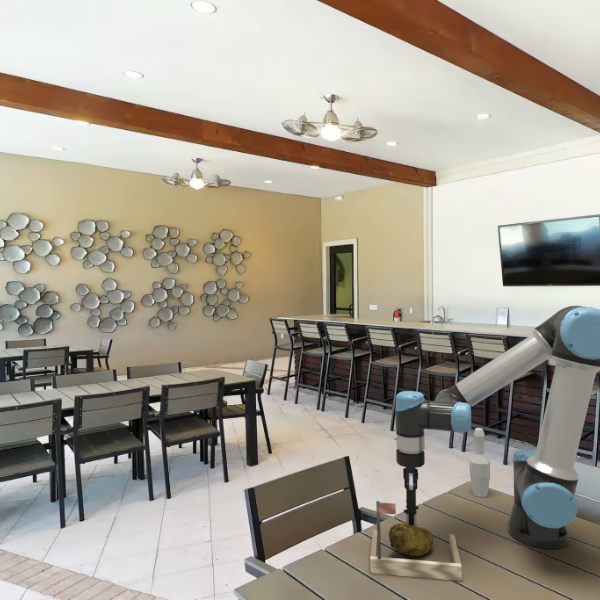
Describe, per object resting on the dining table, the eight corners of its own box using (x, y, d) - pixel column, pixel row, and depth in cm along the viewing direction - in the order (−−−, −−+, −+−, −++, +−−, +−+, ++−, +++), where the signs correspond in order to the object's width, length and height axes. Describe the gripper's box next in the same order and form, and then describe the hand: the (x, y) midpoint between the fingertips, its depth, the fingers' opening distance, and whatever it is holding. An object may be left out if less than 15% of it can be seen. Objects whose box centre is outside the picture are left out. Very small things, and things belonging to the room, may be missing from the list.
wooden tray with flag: (454, 547, 127) (452, 482, 127) (462, 581, 112) (460, 507, 112) (373, 540, 131) (371, 478, 131) (370, 573, 116) (368, 502, 116)
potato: (442, 559, 121) (442, 529, 121) (394, 565, 120) (393, 534, 119) (429, 541, 130) (428, 513, 129) (383, 546, 128) (383, 517, 127)
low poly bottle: (470, 497, 157) (469, 431, 157) (470, 489, 163) (468, 425, 163) (491, 499, 155) (489, 432, 155) (489, 491, 161) (488, 426, 161)
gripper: (396, 440, 136) (397, 522, 137) (395, 456, 124) (397, 546, 124) (423, 442, 135) (424, 524, 135) (425, 458, 122) (426, 548, 123)
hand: (411, 534), depth 130 cm, fingers closed
